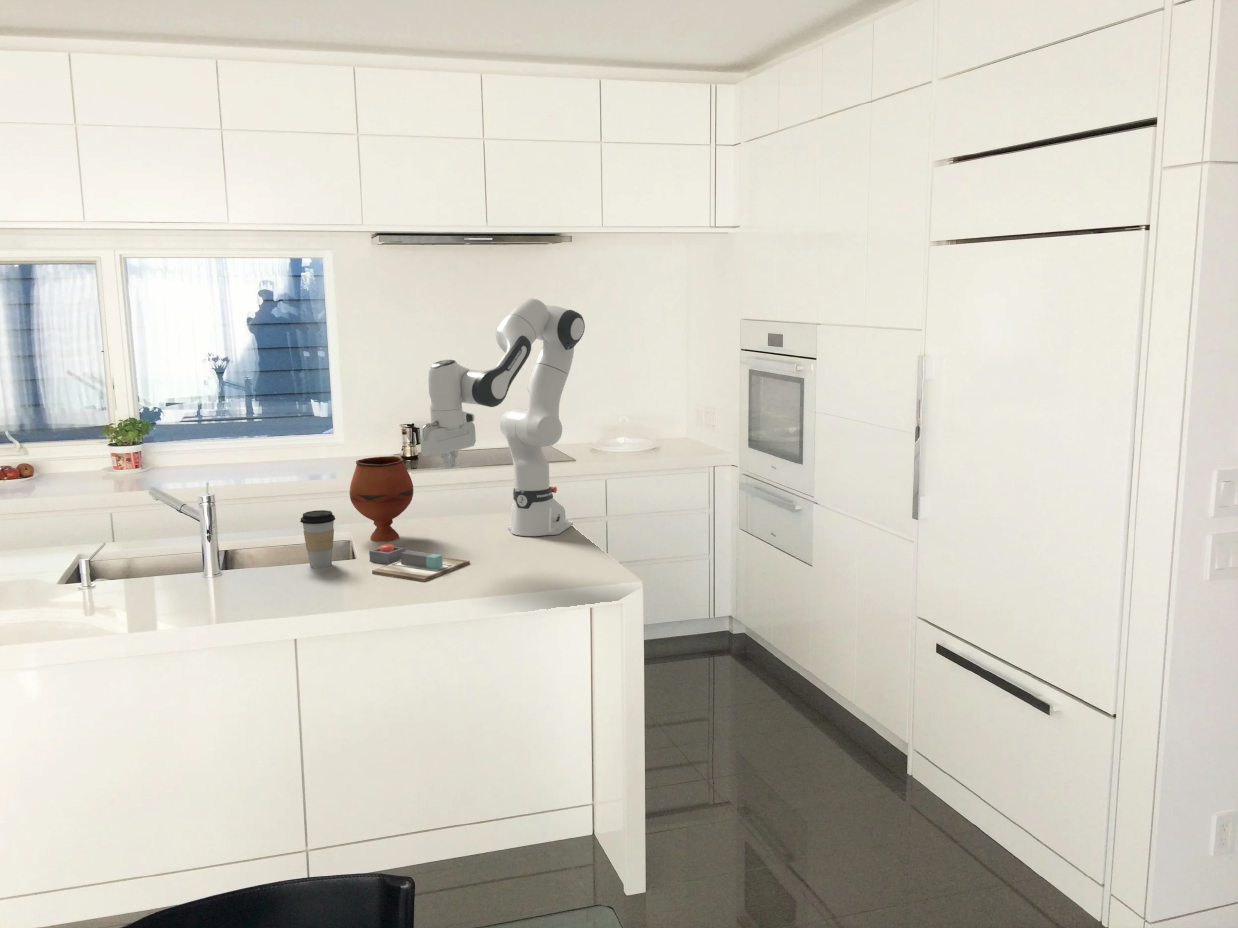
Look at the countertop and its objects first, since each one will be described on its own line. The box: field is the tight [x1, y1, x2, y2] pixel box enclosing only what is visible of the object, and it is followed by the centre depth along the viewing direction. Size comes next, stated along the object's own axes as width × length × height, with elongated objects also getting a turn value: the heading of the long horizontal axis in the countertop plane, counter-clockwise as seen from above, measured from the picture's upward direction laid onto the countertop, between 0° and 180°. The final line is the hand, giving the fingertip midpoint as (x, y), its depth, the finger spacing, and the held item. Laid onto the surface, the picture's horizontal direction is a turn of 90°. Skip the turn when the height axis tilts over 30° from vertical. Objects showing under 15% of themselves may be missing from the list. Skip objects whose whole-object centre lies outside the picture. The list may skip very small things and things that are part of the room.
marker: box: [401, 549, 443, 569], centre depth 279 cm, size 12×3×3 cm, turn 62°
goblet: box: [349, 455, 414, 543], centre depth 312 cm, size 19×19×25 cm
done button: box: [379, 543, 395, 553], centre depth 288 cm, size 4×4×3 cm
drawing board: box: [371, 556, 471, 583], centre depth 279 cm, size 20×18×1 cm
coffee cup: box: [300, 509, 336, 569], centre depth 282 cm, size 9×9×15 cm
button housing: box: [368, 546, 406, 565], centre depth 289 cm, size 7×7×3 cm
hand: (450, 467), depth 284 cm, fingers closed
